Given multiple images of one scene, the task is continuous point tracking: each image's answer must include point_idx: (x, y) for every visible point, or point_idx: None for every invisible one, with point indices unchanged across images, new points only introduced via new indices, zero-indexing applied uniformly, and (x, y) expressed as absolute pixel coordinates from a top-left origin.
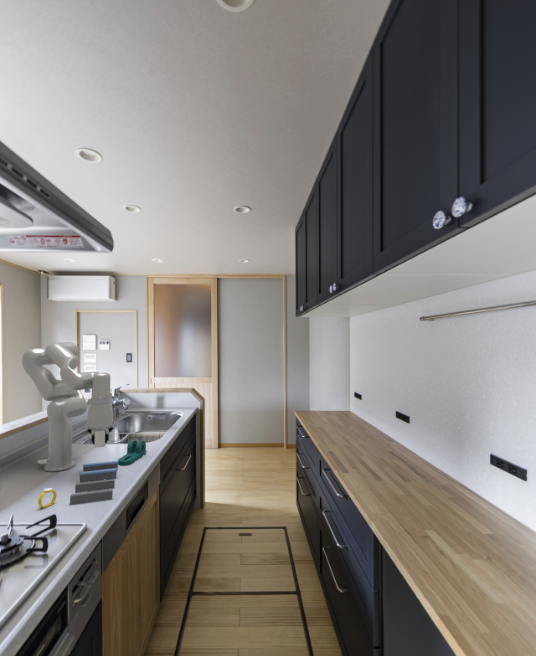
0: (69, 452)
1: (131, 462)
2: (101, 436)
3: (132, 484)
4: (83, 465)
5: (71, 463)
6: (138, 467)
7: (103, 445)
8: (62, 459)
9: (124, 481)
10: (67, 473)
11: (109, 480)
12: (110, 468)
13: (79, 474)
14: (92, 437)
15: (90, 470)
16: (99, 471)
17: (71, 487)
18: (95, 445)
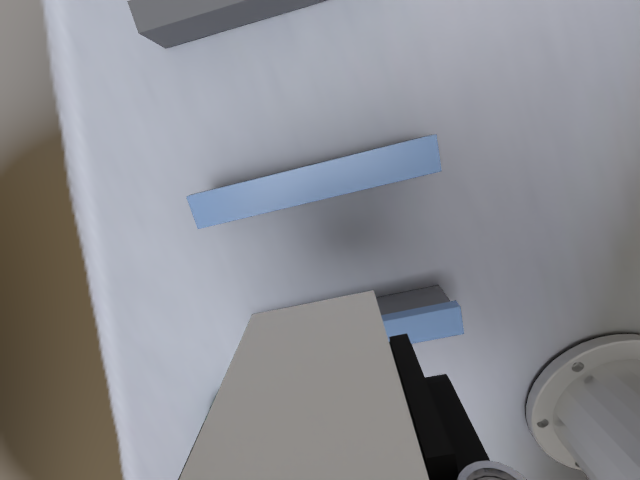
0: (623, 468)
1: (210, 407)
2: (265, 420)
3: (67, 79)
4: (455, 306)
5: (552, 419)
6: (154, 351)
7: (262, 320)
8: (633, 404)
9: (141, 137)
10: (535, 302)
11: (164, 3)
12: None
13: (431, 135)
14: (461, 432)
15: (403, 300)
16: (297, 170)
17: (442, 61)
18: (364, 305)
